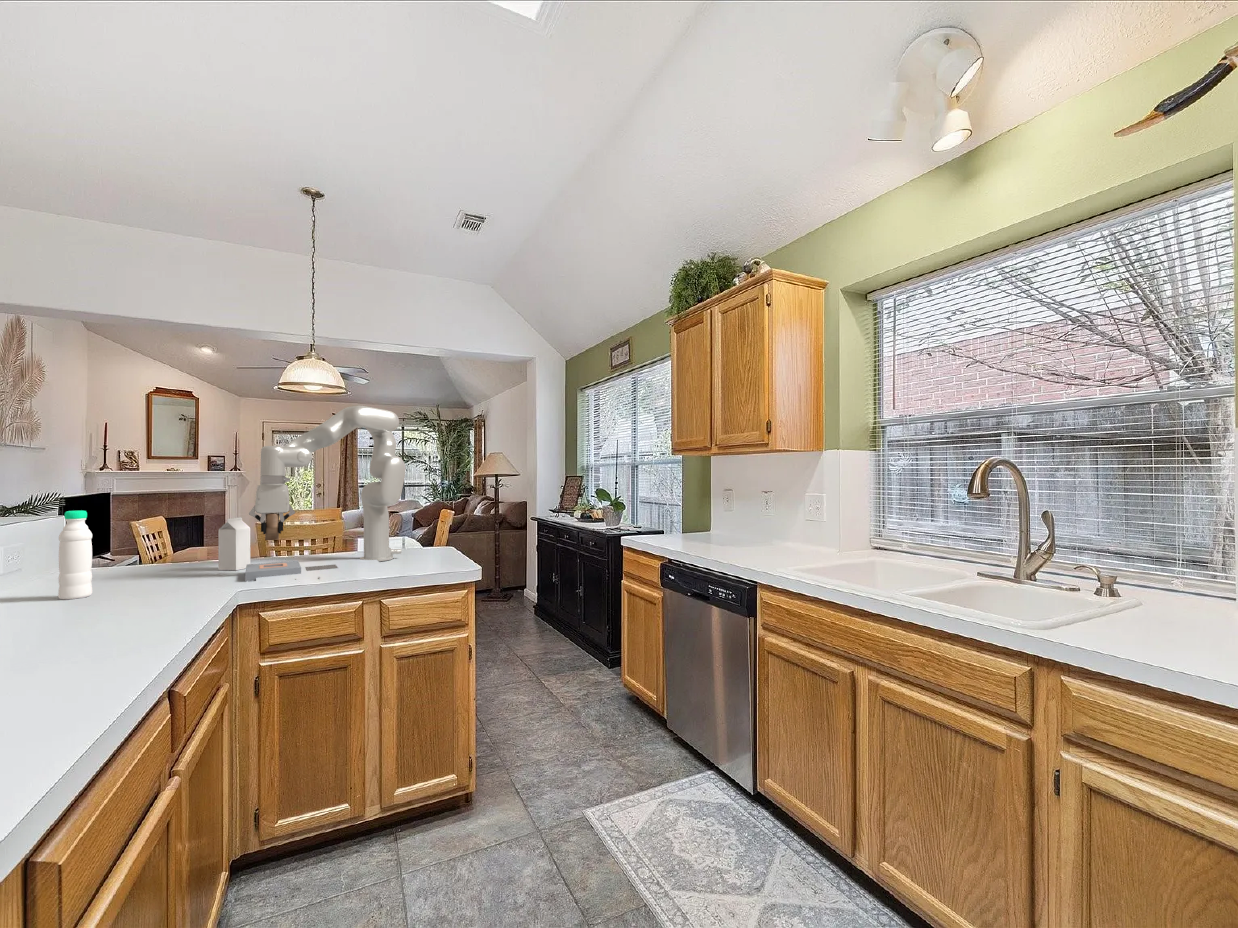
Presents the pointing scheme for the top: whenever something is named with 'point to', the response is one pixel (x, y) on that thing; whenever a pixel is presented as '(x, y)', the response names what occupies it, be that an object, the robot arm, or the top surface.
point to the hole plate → (271, 569)
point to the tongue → (321, 567)
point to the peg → (272, 526)
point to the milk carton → (233, 545)
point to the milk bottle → (75, 557)
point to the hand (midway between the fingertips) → (272, 533)
